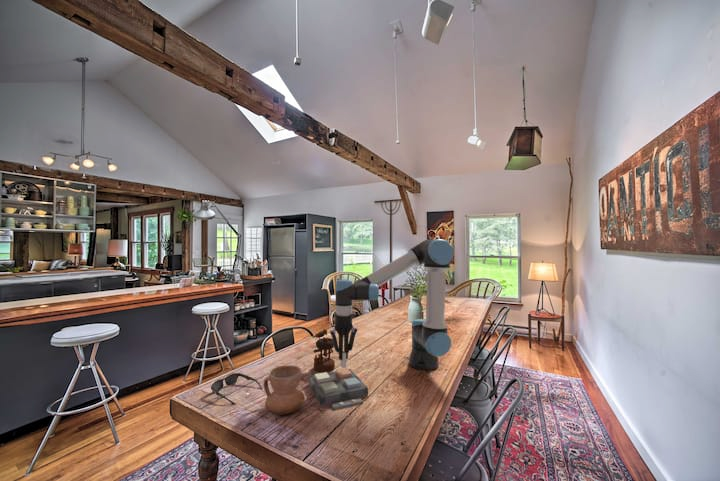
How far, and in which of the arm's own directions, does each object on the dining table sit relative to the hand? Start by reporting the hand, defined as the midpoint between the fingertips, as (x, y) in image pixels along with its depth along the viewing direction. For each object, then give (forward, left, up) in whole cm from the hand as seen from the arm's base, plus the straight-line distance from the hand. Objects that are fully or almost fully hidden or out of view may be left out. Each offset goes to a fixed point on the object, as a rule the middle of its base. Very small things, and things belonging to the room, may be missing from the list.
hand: (343, 366), depth 134 cm
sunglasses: (+44, -10, -8) cm, 46 cm away
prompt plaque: (+5, +18, -7) cm, 20 cm away
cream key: (+10, 0, -5) cm, 11 cm away
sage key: (+10, +10, -5) cm, 15 cm away
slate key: (0, +10, -5) cm, 11 cm away
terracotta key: (0, 0, -5) cm, 5 cm away
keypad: (+5, +5, -7) cm, 10 cm away
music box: (+3, -19, -8) cm, 21 cm away
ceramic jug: (+28, +10, -8) cm, 30 cm away
